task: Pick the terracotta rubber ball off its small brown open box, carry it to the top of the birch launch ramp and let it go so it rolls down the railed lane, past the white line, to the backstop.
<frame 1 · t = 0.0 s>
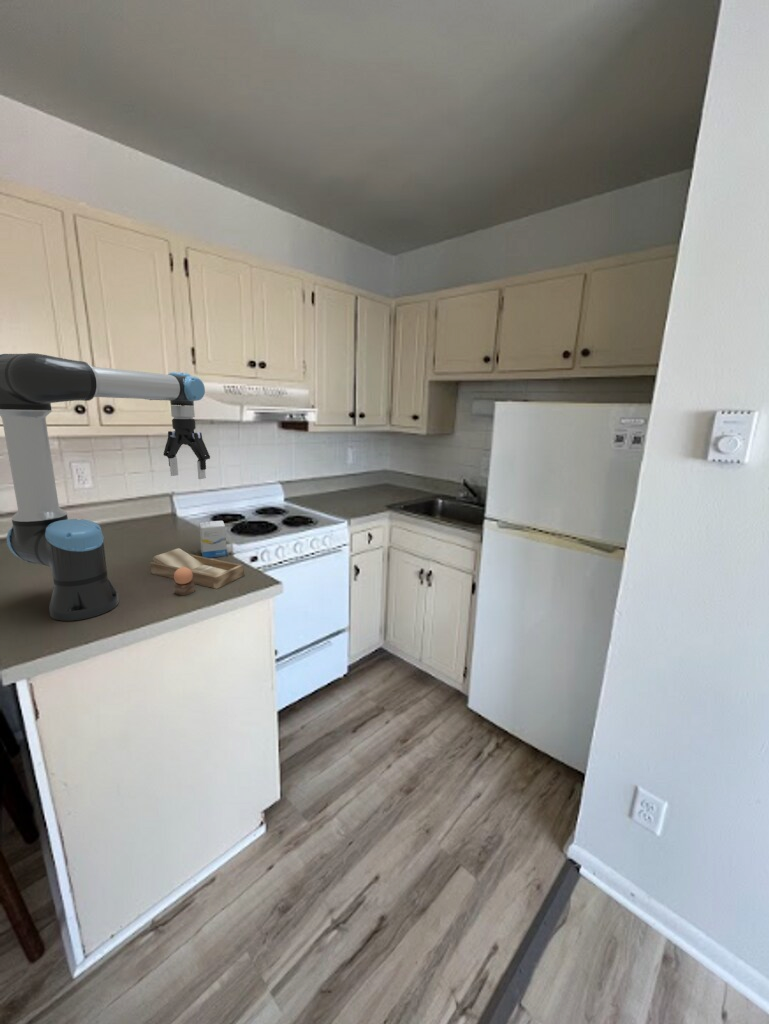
hand: (188, 477, 157), 28 cm above the counter, fingers open, 13 cm apart
small brown open box: (184, 592, 126), on the counter
lane: (190, 572, 141), on the counter
ball: (183, 575, 125), point 5 cm above the counter, touching small brown open box
ink box: (214, 554, 160), on the counter
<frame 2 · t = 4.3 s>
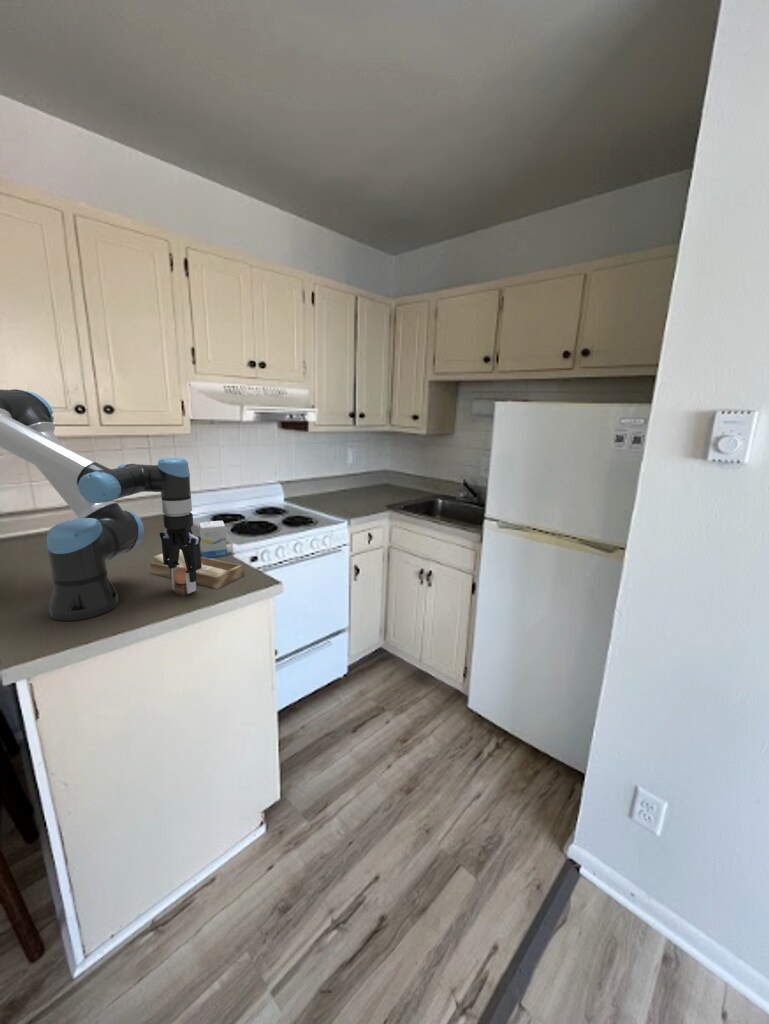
hand: (184, 589, 126), 1 cm above the counter, fingers closed on ball, 5 cm apart
ball: (183, 575, 125), point 5 cm above the counter, touching gripper, small brown open box
everything else where it was.
when the fingers open (7 cm above the counter, at t = 7.8 s): ball drops 7 cm and tips over, resting on lane.
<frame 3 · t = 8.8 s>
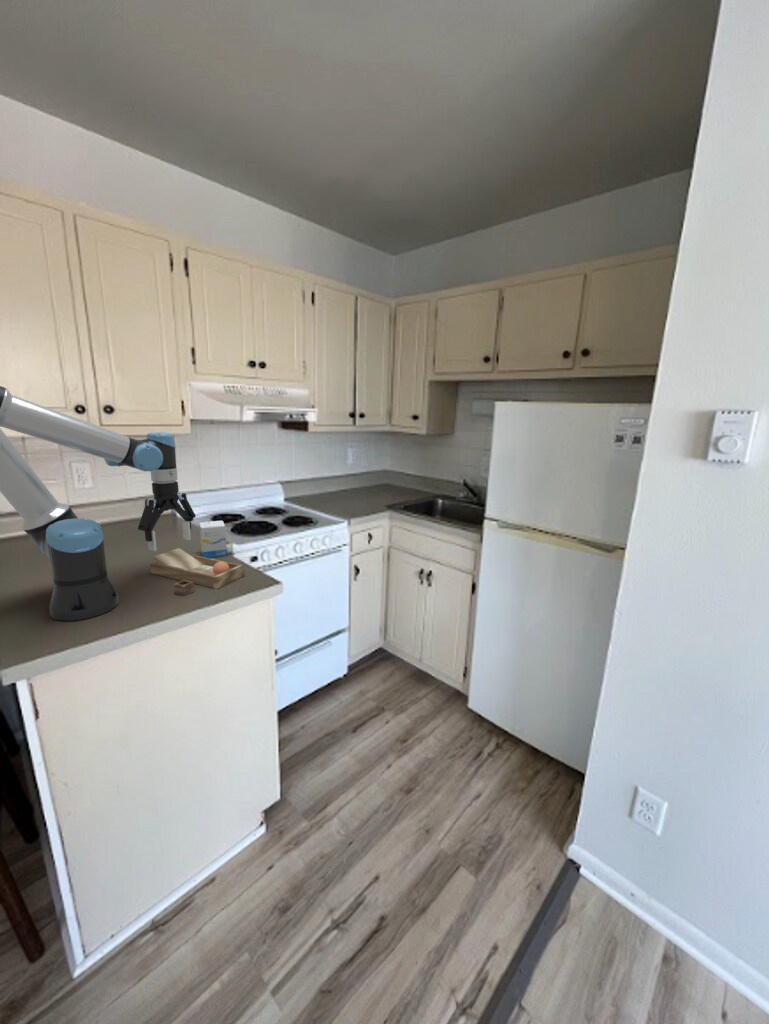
hand: (170, 544, 142), 8 cm above the counter, fingers open, 13 cm apart
ball: (221, 569, 135), point 4 cm above the counter, tilted 163°, touching lane
everything else where it was.
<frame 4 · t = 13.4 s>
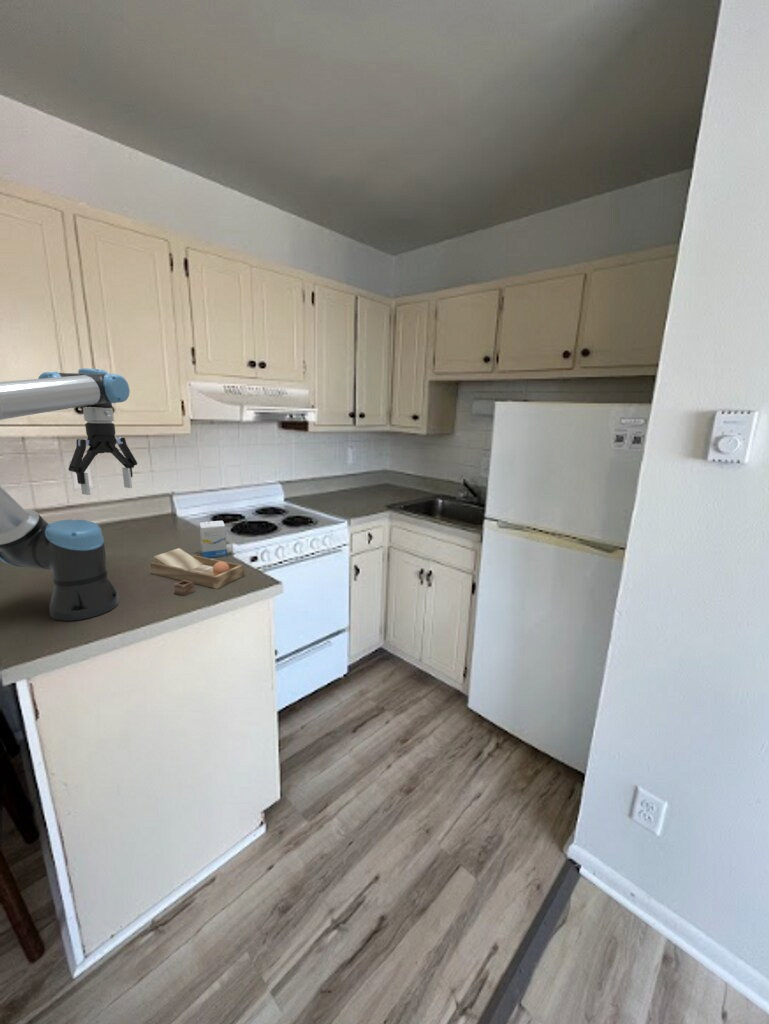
hand: (108, 490, 135), 27 cm above the counter, fingers open, 13 cm apart
nothing on the counter moved.
at the end: ball inside the target area (2.1 cm from its centre), point 3.5 cm above the counter; the gripper is holding nothing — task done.
